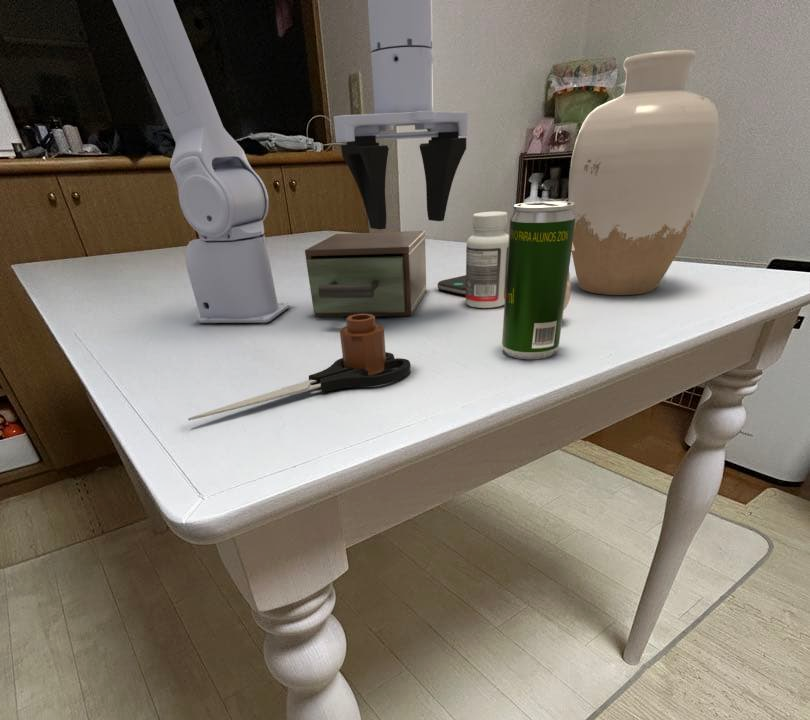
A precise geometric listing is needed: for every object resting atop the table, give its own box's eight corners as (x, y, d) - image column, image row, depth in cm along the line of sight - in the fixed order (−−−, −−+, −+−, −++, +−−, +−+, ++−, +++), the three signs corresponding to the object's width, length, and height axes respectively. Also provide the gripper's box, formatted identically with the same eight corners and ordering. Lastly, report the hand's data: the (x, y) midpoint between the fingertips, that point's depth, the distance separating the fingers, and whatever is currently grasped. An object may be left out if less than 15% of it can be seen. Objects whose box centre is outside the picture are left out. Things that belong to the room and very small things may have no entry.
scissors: (207, 441, 37) (422, 372, 46) (204, 430, 36) (422, 363, 46) (177, 414, 41) (379, 356, 50) (174, 403, 41) (378, 347, 50)
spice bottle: (340, 375, 46) (333, 323, 43) (350, 361, 49) (345, 311, 46) (381, 376, 45) (377, 323, 43) (389, 361, 48) (386, 311, 46)
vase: (690, 279, 70) (751, 51, 56) (668, 306, 60) (736, 35, 46) (576, 272, 77) (604, 69, 63) (538, 295, 67) (563, 58, 53)
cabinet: (411, 316, 62) (408, 246, 58) (314, 316, 64) (304, 249, 60) (426, 290, 73) (425, 230, 68) (342, 292, 75) (335, 233, 70)
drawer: (396, 323, 57) (393, 266, 53) (301, 323, 59) (291, 268, 55) (419, 288, 70) (417, 241, 67) (340, 290, 72) (335, 243, 68)
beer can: (569, 353, 49) (592, 203, 41) (523, 364, 47) (537, 209, 40) (534, 339, 52) (549, 199, 45) (490, 349, 51) (498, 205, 43)
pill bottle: (485, 296, 68) (489, 209, 62) (516, 302, 65) (523, 211, 59) (456, 304, 66) (457, 214, 60) (487, 311, 62) (491, 216, 56)
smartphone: (432, 282, 72) (507, 265, 79) (432, 288, 73) (507, 272, 80) (469, 289, 67) (546, 271, 74) (469, 297, 68) (545, 278, 75)
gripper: (354, 41, 41) (369, 235, 50) (490, 47, 47) (483, 219, 56) (315, 55, 46) (335, 230, 54) (443, 58, 52) (443, 215, 60)
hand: (407, 224), depth 55 cm, fingers open, 7 cm apart
